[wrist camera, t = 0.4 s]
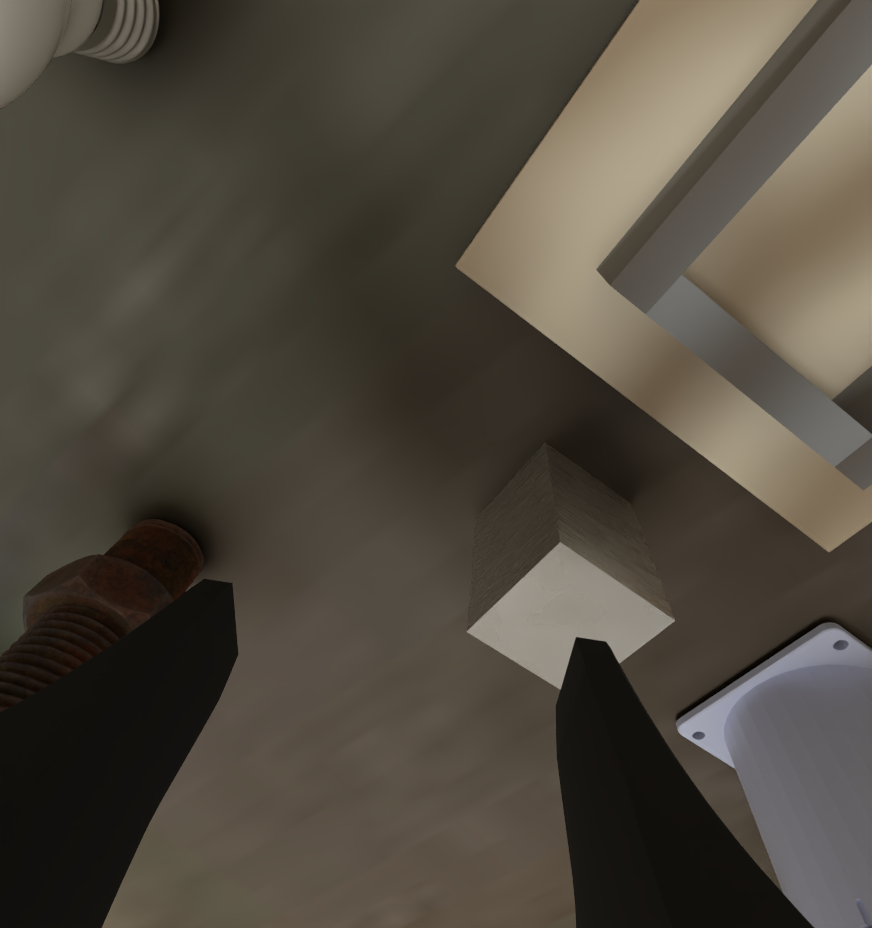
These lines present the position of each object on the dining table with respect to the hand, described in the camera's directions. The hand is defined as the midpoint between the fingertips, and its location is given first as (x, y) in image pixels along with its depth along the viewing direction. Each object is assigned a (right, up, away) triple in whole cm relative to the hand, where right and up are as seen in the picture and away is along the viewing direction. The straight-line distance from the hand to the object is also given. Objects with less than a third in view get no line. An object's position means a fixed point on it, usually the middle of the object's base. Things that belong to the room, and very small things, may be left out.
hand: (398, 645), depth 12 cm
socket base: (+12, +10, +4) cm, 16 cm away
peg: (+5, +2, +9) cm, 11 cm away
